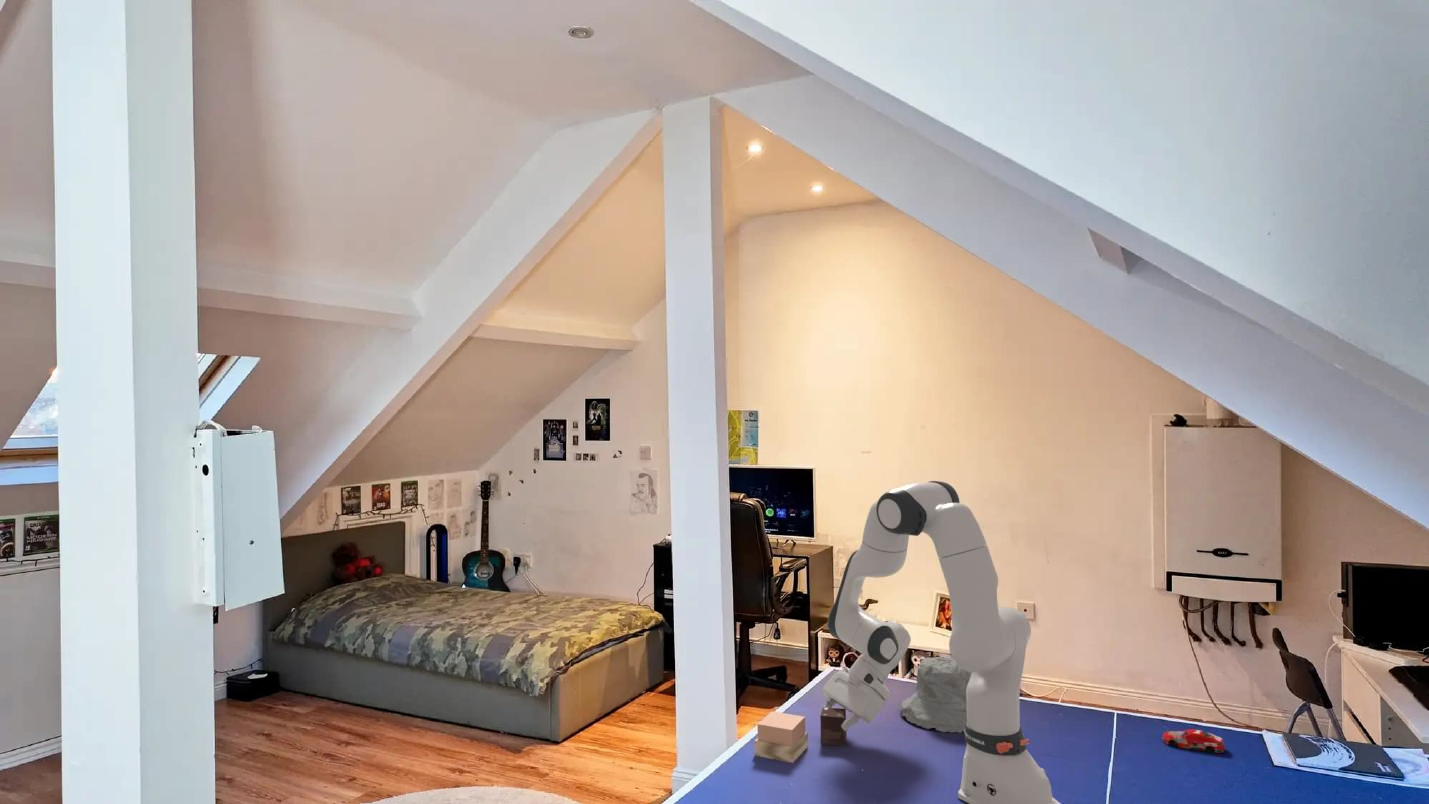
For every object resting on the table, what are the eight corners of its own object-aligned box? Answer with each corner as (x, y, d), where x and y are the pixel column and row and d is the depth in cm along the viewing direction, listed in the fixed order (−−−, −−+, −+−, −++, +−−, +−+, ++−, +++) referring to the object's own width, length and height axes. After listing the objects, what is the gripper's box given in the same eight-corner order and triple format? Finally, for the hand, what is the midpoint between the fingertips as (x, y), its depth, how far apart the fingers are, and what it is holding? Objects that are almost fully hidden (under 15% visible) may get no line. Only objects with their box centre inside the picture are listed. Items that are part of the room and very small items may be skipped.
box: (844, 746, 208) (844, 717, 208) (820, 744, 209) (819, 715, 209) (846, 737, 214) (846, 708, 214) (823, 735, 215) (822, 706, 215)
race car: (1161, 746, 205) (1161, 730, 205) (1163, 738, 209) (1162, 722, 209) (1224, 757, 198) (1224, 740, 198) (1224, 748, 202) (1224, 732, 202)
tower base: (808, 748, 208) (807, 732, 208) (792, 764, 199) (792, 747, 199) (771, 741, 213) (770, 726, 213) (754, 757, 204) (754, 740, 204)
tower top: (805, 732, 208) (805, 716, 208) (792, 746, 200) (792, 730, 200) (771, 726, 212) (771, 711, 212) (757, 740, 204) (757, 724, 204)
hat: (895, 728, 219) (894, 671, 219) (903, 698, 241) (902, 646, 241) (999, 738, 211) (998, 679, 211) (998, 706, 233) (996, 652, 233)
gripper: (836, 659, 224) (805, 701, 220) (879, 682, 205) (845, 729, 201) (851, 673, 226) (820, 715, 222) (895, 698, 207) (861, 744, 203)
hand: (832, 722), depth 212 cm, fingers open, 8 cm apart
